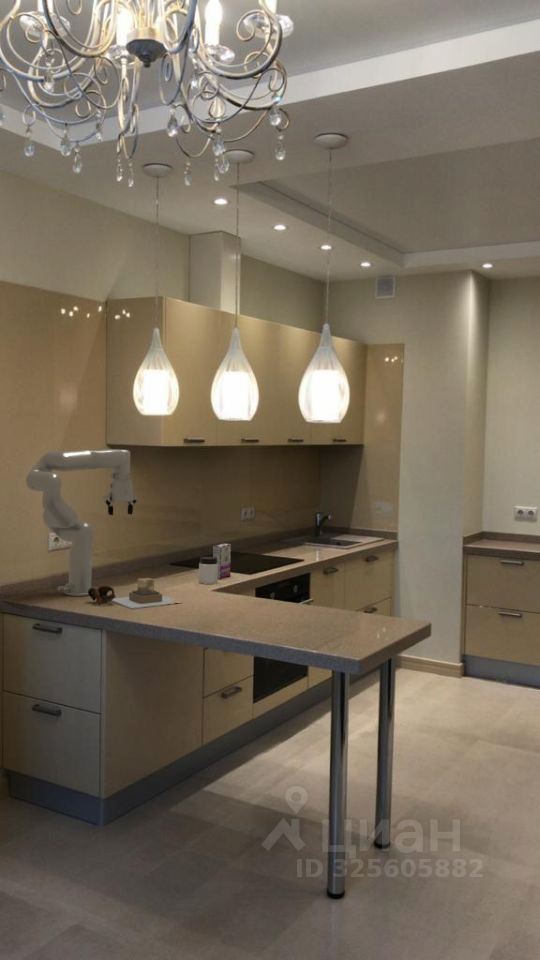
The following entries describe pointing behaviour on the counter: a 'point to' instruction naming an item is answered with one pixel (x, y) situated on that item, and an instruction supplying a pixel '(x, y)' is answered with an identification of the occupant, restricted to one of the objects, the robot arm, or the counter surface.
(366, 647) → the counter surface
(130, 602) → the base
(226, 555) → the candy bar box
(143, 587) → the maple block
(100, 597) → the brown animal figurine
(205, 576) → the jar
